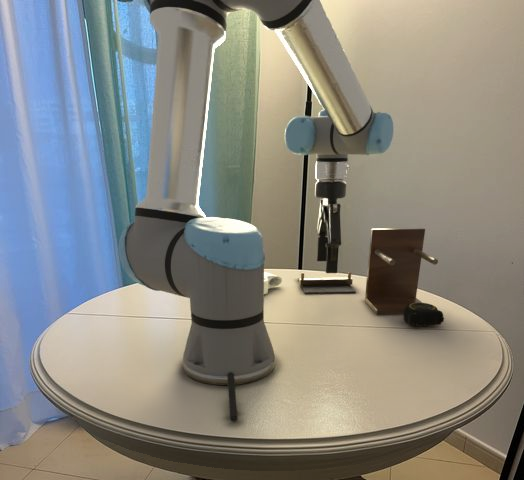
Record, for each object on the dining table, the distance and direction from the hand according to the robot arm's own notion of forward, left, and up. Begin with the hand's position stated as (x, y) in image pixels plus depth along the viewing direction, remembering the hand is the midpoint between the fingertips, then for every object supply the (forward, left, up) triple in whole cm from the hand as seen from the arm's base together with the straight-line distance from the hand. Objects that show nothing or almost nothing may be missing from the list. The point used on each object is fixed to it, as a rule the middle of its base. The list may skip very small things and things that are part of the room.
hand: (326, 266), depth 119 cm
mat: (0, 0, -5) cm, 5 cm away
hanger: (0, 0, -5) cm, 5 cm away
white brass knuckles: (+1, +21, -5) cm, 22 cm away
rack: (-20, -13, -5) cm, 24 cm away
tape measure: (-31, -15, -5) cm, 35 cm away
